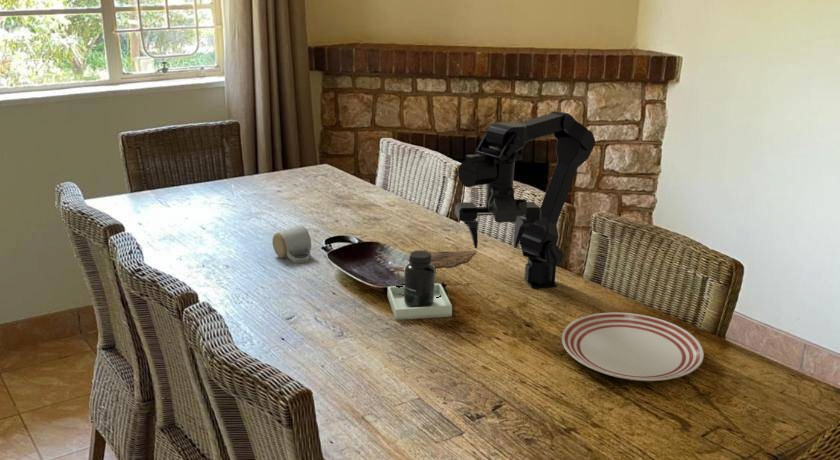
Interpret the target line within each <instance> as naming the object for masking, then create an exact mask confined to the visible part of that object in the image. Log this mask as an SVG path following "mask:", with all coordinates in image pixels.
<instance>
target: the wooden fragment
mask: <svg viewBox="0 0 840 460" xmlns="http://www.w3.org/2000/svg"><path fill="white" fill-rule="evenodd" d="M429 253H430V254H431V263H430V264H432V265H433V266H434V268H435V269H438V268H448V267H449V268H450V267H455V266H457V265H459V264H460V265H461V264H463V263H468V262H469V261H470V260H471V258H472V257H473V256H474V255H475V254H477V250H461V251H460V250H459V251H438V252H437V251H436V252H429ZM393 270H396V271H399V272H403V273H405V272H404V271H405V270H404V269H403V268H402V267H399V266H397V265H395V266H394V267H393Z"/></svg>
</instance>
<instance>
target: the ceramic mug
mask: <svg viewBox="0 0 840 460" xmlns="http://www.w3.org/2000/svg"><path fill="white" fill-rule="evenodd" d="M272 248H273V250H274V253H275V254H276V256H277V257H279V258H281V259H289V260H290V261H291V262H294V263H295V264H303V263H306V262H308V261H309V260H310V257H311V250H312V240H311V236H310V232H309V231H308V229H307V228H306V227H305V226H304V225H302V224H299V225H295V226H292V227H289V228H286V229H283V230H279V231H278V232H276V233H274V235H273V237H272ZM306 254H307V256H305V257H304V258H299V257H297V256H301V255H306ZM295 256H296V257H295Z"/></svg>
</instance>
